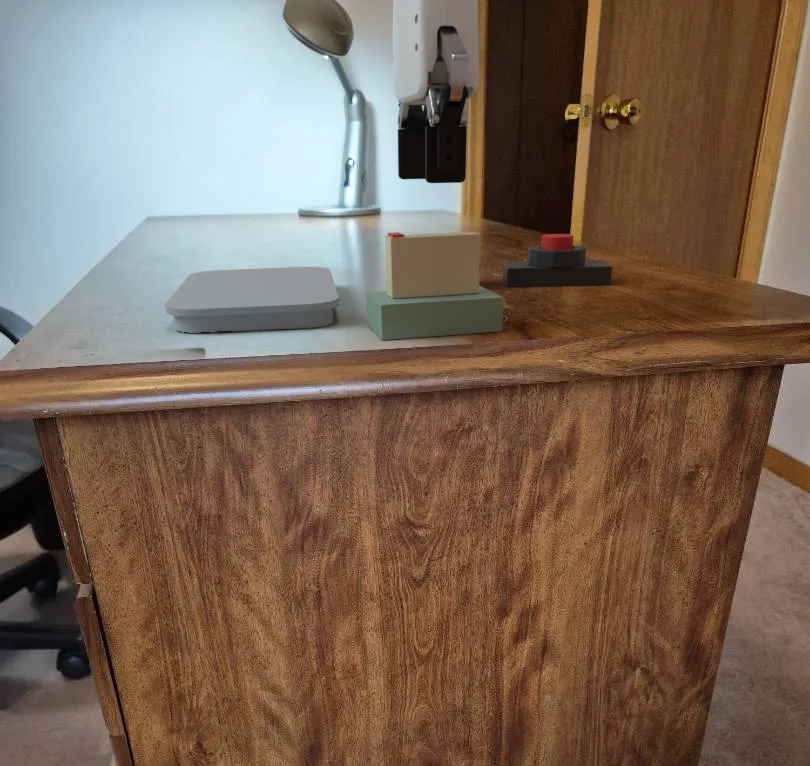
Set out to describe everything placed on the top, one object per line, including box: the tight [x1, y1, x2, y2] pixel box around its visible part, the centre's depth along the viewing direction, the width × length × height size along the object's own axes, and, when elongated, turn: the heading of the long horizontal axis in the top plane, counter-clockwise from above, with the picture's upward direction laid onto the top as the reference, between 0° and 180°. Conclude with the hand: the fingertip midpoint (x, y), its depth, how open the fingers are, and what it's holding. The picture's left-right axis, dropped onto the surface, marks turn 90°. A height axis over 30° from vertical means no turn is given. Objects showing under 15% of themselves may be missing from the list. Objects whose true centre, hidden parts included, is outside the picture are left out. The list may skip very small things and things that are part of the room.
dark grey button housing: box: [502, 244, 613, 288], centre depth 93 cm, size 12×6×4 cm, turn 88°
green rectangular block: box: [365, 285, 504, 341], centre depth 72 cm, size 11×7×3 cm, turn 103°
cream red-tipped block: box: [384, 231, 481, 299], centre depth 70 cm, size 8×2×5 cm, turn 103°
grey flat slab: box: [164, 266, 340, 334], centre depth 84 cm, size 16×26×2 cm, turn 7°
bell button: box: [541, 233, 575, 250], centre depth 92 cm, size 4×4×2 cm
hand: (429, 180), depth 67 cm, fingers open, 9 cm apart
